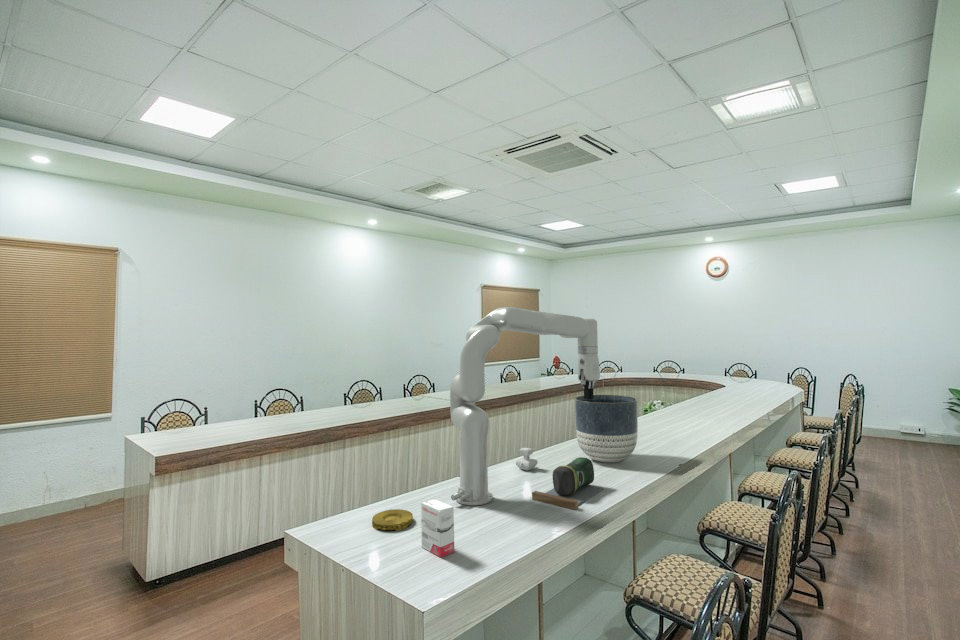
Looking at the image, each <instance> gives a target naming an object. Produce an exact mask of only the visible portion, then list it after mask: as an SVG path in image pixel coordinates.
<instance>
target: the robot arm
mask: <svg viewBox="0 0 960 640" xmlns="http://www.w3.org/2000/svg"><path fill="white" fill-rule="evenodd" d="M503 331H511V332H519V333H525V334H531V335H538V336H539V335H541V336H547V335H549V336H550V335H551V336H552V335H553V336H560V337H561V338H563V339H577V355H578V358H577V360H578V361H577V379H578V380H579V381H580V385H582V389H583V396H584V399H593V395H594V388H595V383H596V382H597V381H599V379H600V378H601V373H600V372H601V370H600V361H599V359H600V358H599V355H598V354H599V350H598V349H599V347H598V346H599V345H598V339H599V338H598V321H597V320H596V319H595V318H583V317H580V316H574V315H568V314H561V313H560V314H559V313H553V312H548V311H547V312H546V311H538V310H531V309H526V308H519V307H514V306H504V307H498V308H497V307H496V308H495V309H493V310H492V311H491V312H489V313H488V314H486V316H484V317H483V318H481V319H479V321H477V322H476V323H474V324H473V325H472V326H471V327H470V328H469V329H468V330H467V332H466V335H465V336H466V342H465V343H464V345H463V346H462V350H461V352H460V359H459V373H458V374H456V375H455V376H454V378H452V380H451V382H450V387H449V396H450V397H449V398H450V399H449V400H450V402H449V405H450V409H449V410H450V419H451V422H452V424H453V426H455V427H456V428H457V429H459V430H460V432H461V433H460V437H459V449H458V450H459V451H458V452H459V487H458V491H457V492H456V493H452V494H451V496H450V499H451V500H452V501H456V502H457V503H458V504H461V505H464V506H465V505H466V506H482V505H487V504H488V503H490V502H492V501H493V497H494V495H493V494H492V493H491V492H489V483H488V482H489V477H488V476H489V475H488V474H489V473H488V472H489V471H488V434H489V428H490V420H489V416H488V414H487V412H486V411H485V410H484V409H482V408H481V407H479V406H476V403H477V402H479V401H481V400H482V399H483V398H484V395H485V393H486V382H485V380H486V379H485V362H486V358H487V355H488V353H489V352H490V351H491V350H492V349H493V348H495V347H496V345H497V344H498V343H499V341H500V339H501V338H500V337H501V336H500V333H501V332H503Z"/></svg>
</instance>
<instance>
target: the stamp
mask: <svg viewBox="0 0 960 640" xmlns="http://www.w3.org/2000/svg"><path fill="white" fill-rule="evenodd" d="M518 451H519V453H520V455H522V458H519V459H517V460H516V461H515V465H516V466H517V467H518V469H519V470H524V471H528V472H529V471H530V470H533V469H535V468H536V467H537V465H538V460H537V459H535V458H531V457H530V456H531V455H533V448H530V447H529V448H528V447H521V448H519V449H518Z"/></svg>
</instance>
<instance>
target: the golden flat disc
mask: <svg viewBox="0 0 960 640" xmlns="http://www.w3.org/2000/svg"><path fill="white" fill-rule="evenodd" d="M413 521H414V515H413V513H412V512H411V511H409V510H406V509H398V508H397V509H386V510H382V511H380V512H377V513H375V514H374V515H373V516H372V520H371V522H372V523H371V527H372V528H373V530H376V531H378V530H382V531H393V530H394V531H395V532H398V531H401V530H406V529H407V528H408V526H410V525H411V524H412V523H413Z"/></svg>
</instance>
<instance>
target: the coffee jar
mask: <svg viewBox="0 0 960 640" xmlns="http://www.w3.org/2000/svg"><path fill="white" fill-rule="evenodd" d="M594 468H595V467H594V464H593V462H592V460H591V459H590V458H587V457H581V456H580V457H577V458H575V459H573V460H572V461H571V462H569V463H568V464H566V465H559V466H557V467H556V468H554V469H553V471H552V484H553V488H554V489H555V491H556V493H557V494H560V495H570V494H573V493H575V492H576V490H577V489H578V488H580V487H583V486H586V485H591V484H592V483H594V481H595V471H594V470H595V469H594Z"/></svg>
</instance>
